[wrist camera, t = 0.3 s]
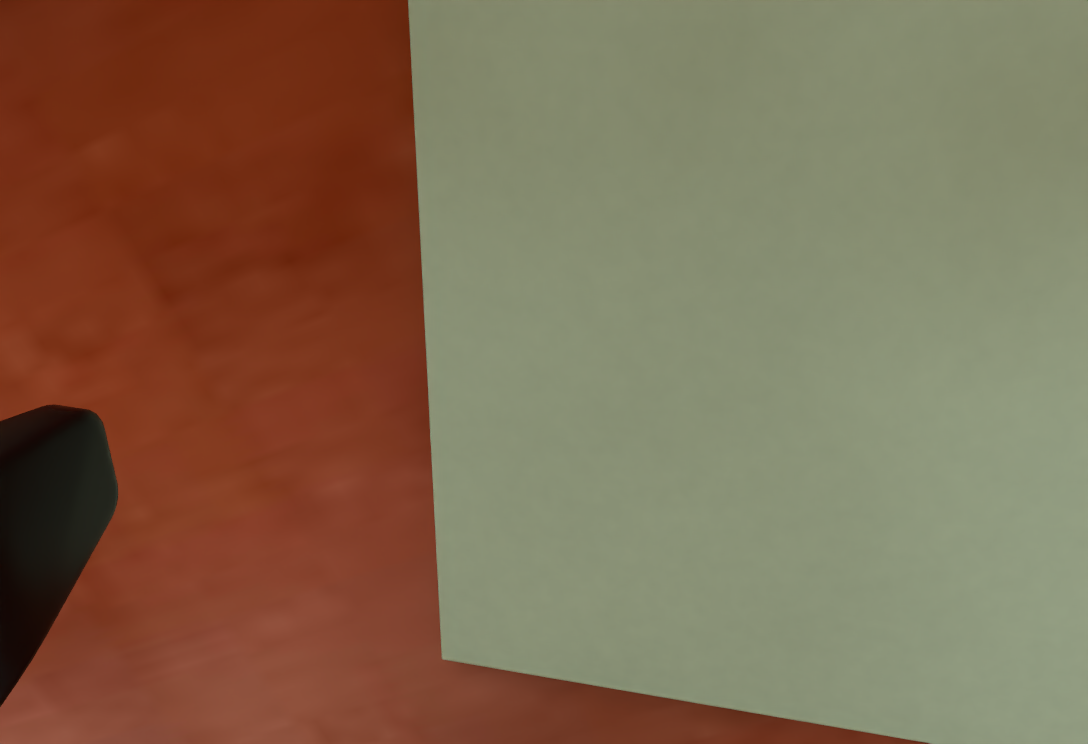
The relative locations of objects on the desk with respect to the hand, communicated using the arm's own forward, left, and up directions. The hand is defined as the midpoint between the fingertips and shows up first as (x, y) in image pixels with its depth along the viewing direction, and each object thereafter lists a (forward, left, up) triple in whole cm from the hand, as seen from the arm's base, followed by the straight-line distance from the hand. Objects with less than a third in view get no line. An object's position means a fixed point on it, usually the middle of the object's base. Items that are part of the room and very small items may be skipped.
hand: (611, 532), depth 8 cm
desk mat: (-7, -2, -15) cm, 16 cm away
